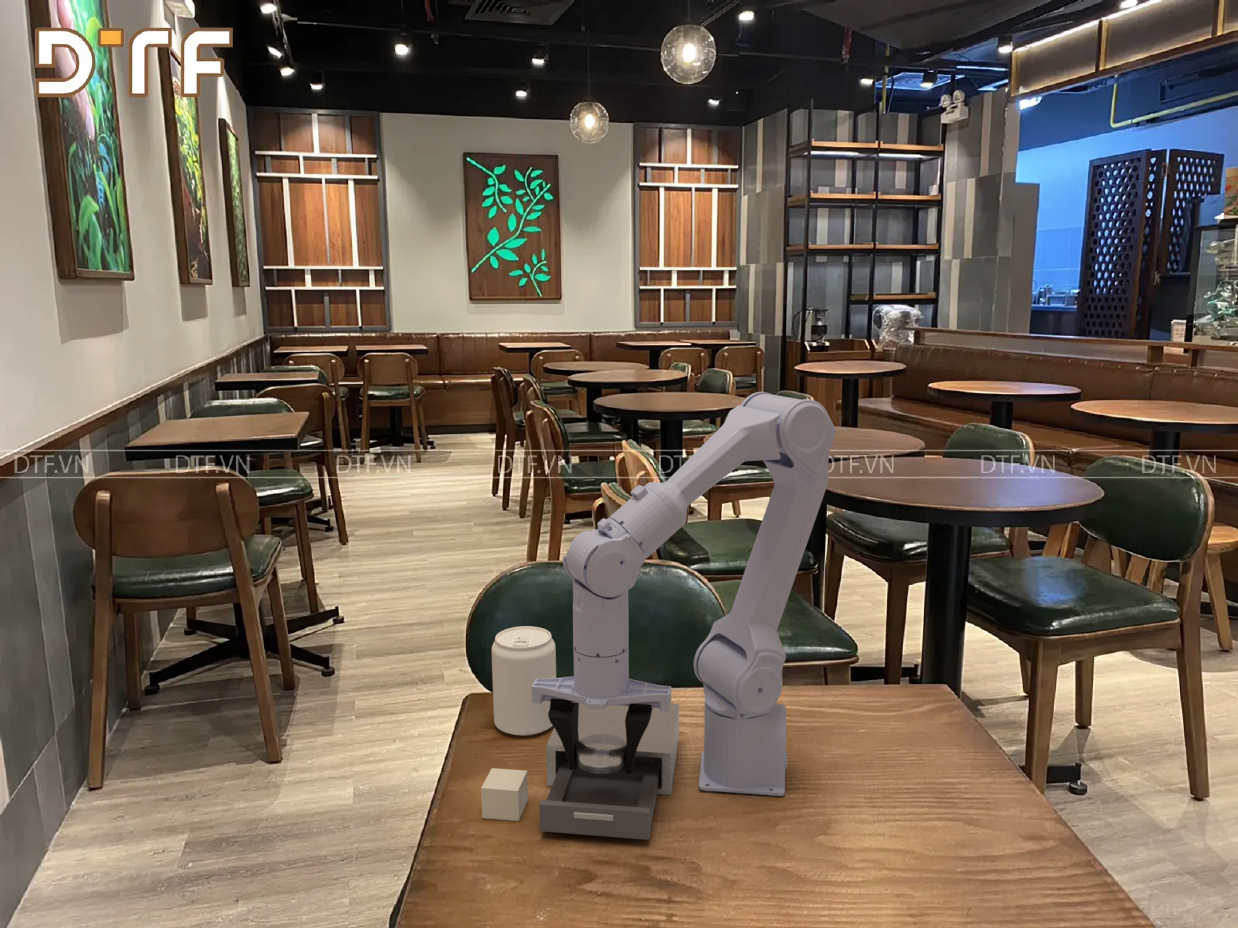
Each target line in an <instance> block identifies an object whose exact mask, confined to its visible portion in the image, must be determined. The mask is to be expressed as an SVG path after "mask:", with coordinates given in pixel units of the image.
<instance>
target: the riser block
mask: <svg viewBox="0 0 1238 928" xmlns="http://www.w3.org/2000/svg"><path fill="white" fill-rule="evenodd" d="M528 788H529V787H528V770H523V769H508V768H496V767H495V768H494V767H492V768H490V770H489V772H488V775H487V776H486V778H485V780H484V782H483V784H482V785H481V788H480V795H481V818H482V819H485V820H486V819H489V820H499V821H500V820H501V821H512V822H513V821H515V822H520V819H521V817H522V815H523V813H524V811H525V808H526V805H527V804H528V801H529V790H528Z"/></svg>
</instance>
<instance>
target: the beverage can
mask: <svg viewBox="0 0 1238 928" xmlns="http://www.w3.org/2000/svg"><path fill="white" fill-rule="evenodd" d="M556 655H557V654H556V642H555V641H554V639H553V638H552V633H551V632H550V631H549V630H547V629H546V628H542V627H540V626H539V627H538V626H531V625H530V626H528V625H526V626H522V625H521V626H513V627H510V628H505V629H504V630H501V631H500V632H498V633H497V634H496V635H495V638H494V642H493V643H492V646H491V667H492V668H491V671H492V674H491V675H492V699H493V700H492V701H493V721H494V725H495V727H496V728H497V729H498V730H500V731H501V732H504V733H506V734H510V735H514V736H525V737H526V736H533V735H537V734H540V733H543V732H545V731H547V730H548V729H550V728H552V727H554V726H553V725H552V724H551V722H550V720H549V717H548V712H549V710H550V701H543V702H542V703H541V704H538V703H532V685H533V683H534V681H535V679H551V678H557V657H556Z"/></svg>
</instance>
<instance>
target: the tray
mask: <svg viewBox="0 0 1238 928" xmlns="http://www.w3.org/2000/svg"><path fill="white" fill-rule="evenodd" d="M659 780H660V767H646V766H634V769H633V773H632V774H626V771H625V766H624V767H623V768H622V769H620V770H618V771H616V772H612V773H606V774H596V773H591V772H587V771H585V770H583V769H581V768H580V767H579V766H578V765H577V768H576V770H570V769H569V764H568V761H562V762H561V765H560V767H559V770H558V772H557V775H556V777H555V780H554V782H553V785H552V786H551V787H550V790H549V793H548V795H547V798H546V800H544V799H540V802H539V806H538V808H539V832H549V833H557V834H558V833H559V834H569V835H571V834H572V835H583V836H585V835H586V836H594V837H595V836H596V837H598V836H599V837H610V838H619V839H620V838H623V839H634V840H645V841H649V840H650V836H651V832H652V831H651V830H652V824H653V818H654V813H655V807H656V802H657V796H658V794H657V791H658V785H659Z"/></svg>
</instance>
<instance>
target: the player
mask: <svg viewBox="0 0 1238 928" xmlns="http://www.w3.org/2000/svg"><path fill="white" fill-rule="evenodd" d="M628 708H629V706H618V705H612V706H607V707H606V708H605V709H603V710H596V709H587V708H586V704H582V703H579V714H578V736H579V741H580V740H581V739H582V738H584V737H587V736H590V735H594V734H611V735H615V736H618V737H620V738H622V739H623V740H624V741H625V742H626V726H625V718H626V714H627V711H628ZM551 731H552V732H551V734H550V736H549V739H548V741H547V743H546V746H545V747H546V783H547V784H546V786H547V787H552V785H553V782H554V780H555V777H556V775H557V772H558V770H559V767H560V765H561V762H562V761H568V759H567V756H566V752H565V749H564V747H563V744H562V742H561V739H560V737H559V735H558V733H557V731H556V730H555V728H554V727H553V729H552V730H551ZM679 736H680V703H673V702H671V707H670V711H669V712H666V711H660V710H659V708H653V709H652V713H651V718H650V721H649V724H648V726H647V728H646V730H645V732H644V734H643V736H642V738H641V740H640V743H639V745H638V748H637V751H636V755H635V764H634V766H646V767H660V780H659V785H658V791H657V795H667V796H671V795H672V791H673V790H672V789H673V784H674V783H673V782H674V776H675V775H674V774H675V769H676V763H677V757H676V756H678V749H679V743H680V737H679ZM626 743H627V742H626Z"/></svg>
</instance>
